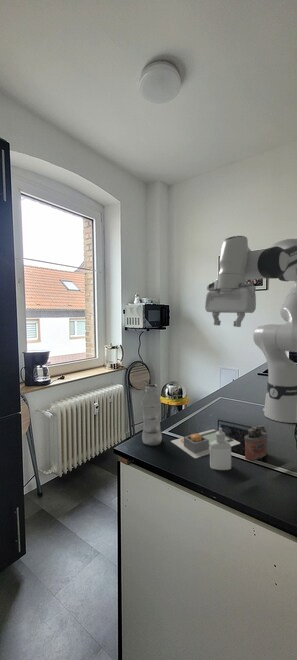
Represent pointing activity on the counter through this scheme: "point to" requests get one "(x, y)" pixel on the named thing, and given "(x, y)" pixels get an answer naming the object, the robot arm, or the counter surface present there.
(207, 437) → the white rectangular tray
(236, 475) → the counter surface
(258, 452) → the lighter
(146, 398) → the plastic bottle
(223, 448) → the eye dropper bottle
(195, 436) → the button
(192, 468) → the counter surface
